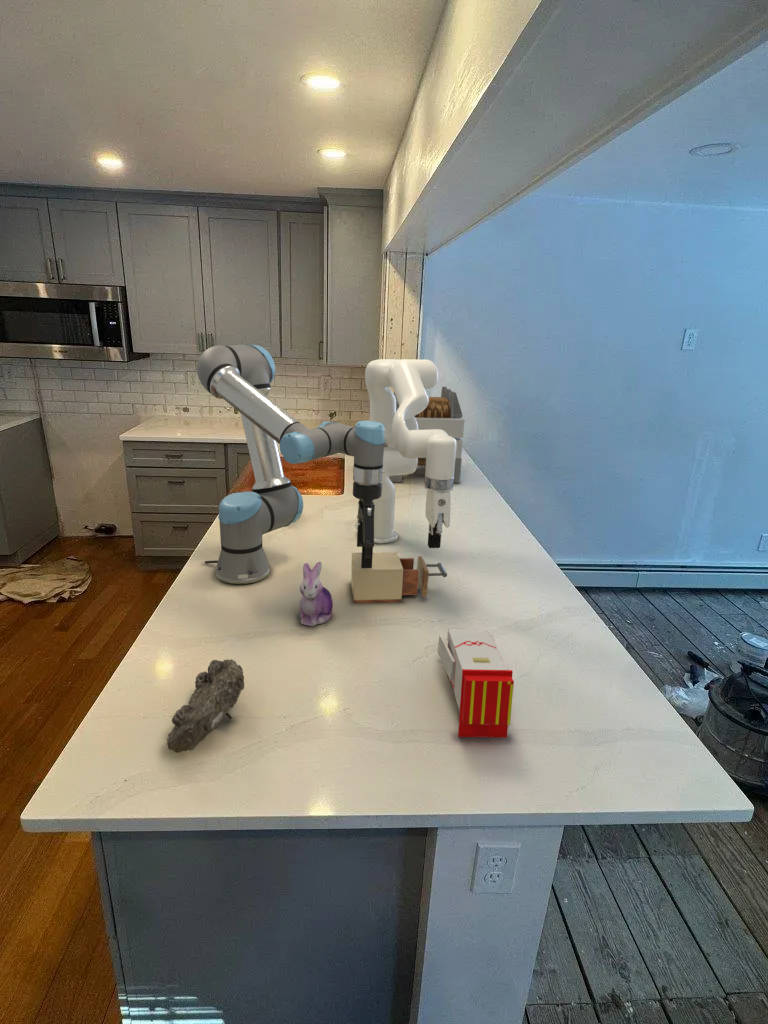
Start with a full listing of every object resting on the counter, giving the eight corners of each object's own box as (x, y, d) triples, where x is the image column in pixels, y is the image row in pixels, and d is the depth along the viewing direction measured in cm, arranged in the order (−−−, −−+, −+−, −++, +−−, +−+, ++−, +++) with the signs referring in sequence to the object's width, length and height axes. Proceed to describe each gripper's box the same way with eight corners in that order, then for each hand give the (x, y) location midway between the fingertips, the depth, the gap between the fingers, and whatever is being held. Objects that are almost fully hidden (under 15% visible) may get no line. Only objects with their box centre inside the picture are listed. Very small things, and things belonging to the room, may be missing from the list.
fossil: (192, 660, 117) (244, 628, 112) (224, 691, 120) (276, 661, 115) (142, 746, 98) (202, 712, 93) (182, 779, 101) (242, 748, 96)
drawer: (439, 580, 165) (441, 555, 162) (446, 596, 156) (449, 570, 153) (380, 581, 162) (381, 556, 160) (384, 598, 153) (385, 571, 151)
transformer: (382, 463, 289) (386, 382, 275) (445, 464, 293) (451, 384, 279) (390, 482, 257) (394, 392, 243) (460, 483, 261) (468, 394, 247)
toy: (488, 613, 130) (523, 677, 101) (484, 667, 133) (517, 744, 104) (435, 612, 130) (455, 676, 101) (432, 666, 133) (451, 743, 103)
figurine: (305, 631, 137) (304, 575, 132) (291, 611, 146) (290, 558, 141) (340, 623, 142) (342, 569, 137) (325, 604, 150) (326, 552, 145)
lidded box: (395, 583, 164) (397, 552, 160) (401, 601, 154) (403, 569, 150) (351, 584, 162) (351, 552, 159) (354, 603, 152) (354, 569, 149)
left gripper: (388, 498, 135) (383, 577, 143) (376, 468, 158) (372, 538, 166) (357, 497, 134) (353, 577, 142) (349, 468, 157) (347, 538, 165)
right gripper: (459, 491, 143) (453, 558, 149) (446, 475, 156) (441, 536, 163) (430, 491, 142) (425, 558, 148) (419, 474, 155) (415, 536, 162)
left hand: (363, 556), depth 154 cm, fingers open, 13 cm apart
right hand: (433, 546), depth 155 cm, fingers closed
